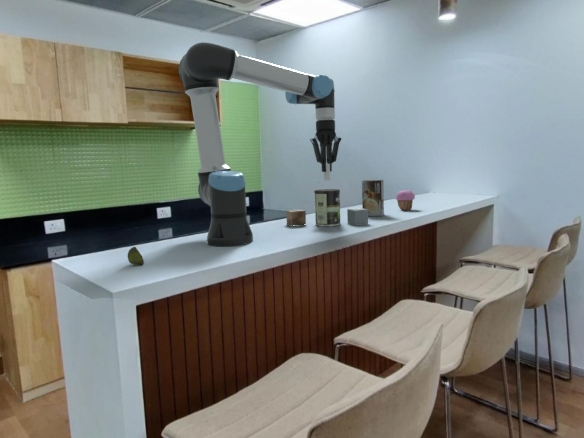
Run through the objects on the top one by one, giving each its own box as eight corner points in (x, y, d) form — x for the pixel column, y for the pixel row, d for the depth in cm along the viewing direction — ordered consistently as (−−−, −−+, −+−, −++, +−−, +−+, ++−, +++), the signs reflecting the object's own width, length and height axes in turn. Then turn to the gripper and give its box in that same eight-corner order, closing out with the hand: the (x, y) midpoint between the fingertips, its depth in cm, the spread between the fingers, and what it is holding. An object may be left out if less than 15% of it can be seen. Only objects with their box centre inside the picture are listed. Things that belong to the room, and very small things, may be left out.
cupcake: (418, 209, 206) (418, 189, 205) (406, 211, 201) (406, 190, 200) (404, 208, 214) (404, 188, 212) (392, 210, 209) (392, 190, 207)
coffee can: (341, 222, 174) (340, 188, 172) (339, 226, 164) (338, 190, 162) (317, 222, 176) (316, 189, 174) (313, 226, 166) (312, 191, 164)
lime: (134, 262, 115) (133, 244, 114) (149, 263, 114) (148, 245, 113) (123, 266, 111) (122, 248, 110) (139, 267, 110) (137, 248, 109)
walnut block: (292, 226, 168) (291, 211, 167) (286, 224, 174) (286, 210, 173) (305, 225, 171) (305, 210, 170) (300, 223, 176) (299, 208, 175)
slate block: (355, 225, 165) (354, 210, 164) (347, 223, 171) (347, 208, 170) (368, 224, 168) (367, 208, 167) (360, 222, 173) (360, 207, 172)
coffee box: (384, 214, 194) (384, 179, 192) (382, 216, 188) (381, 180, 186) (364, 214, 197) (364, 180, 195) (361, 216, 191) (361, 180, 189)
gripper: (335, 120, 170) (337, 179, 173) (306, 121, 165) (308, 180, 168) (344, 119, 163) (345, 179, 166) (314, 119, 158) (316, 181, 161)
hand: (327, 180), depth 167 cm, fingers closed
